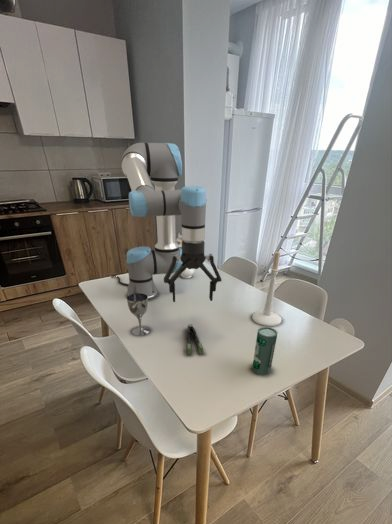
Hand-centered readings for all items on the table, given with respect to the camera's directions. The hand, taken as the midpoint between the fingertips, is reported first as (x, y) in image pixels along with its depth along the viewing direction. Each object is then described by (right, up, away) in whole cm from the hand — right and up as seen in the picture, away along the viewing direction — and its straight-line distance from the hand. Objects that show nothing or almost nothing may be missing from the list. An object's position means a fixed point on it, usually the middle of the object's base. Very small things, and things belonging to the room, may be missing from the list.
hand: (192, 300), depth 109 cm
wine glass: (-22, -11, +14) cm, 28 cm away
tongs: (0, -15, +8) cm, 17 cm away
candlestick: (+33, -5, +24) cm, 41 cm away
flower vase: (-4, +25, +67) cm, 72 cm away
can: (+24, -25, -7) cm, 35 cm away
